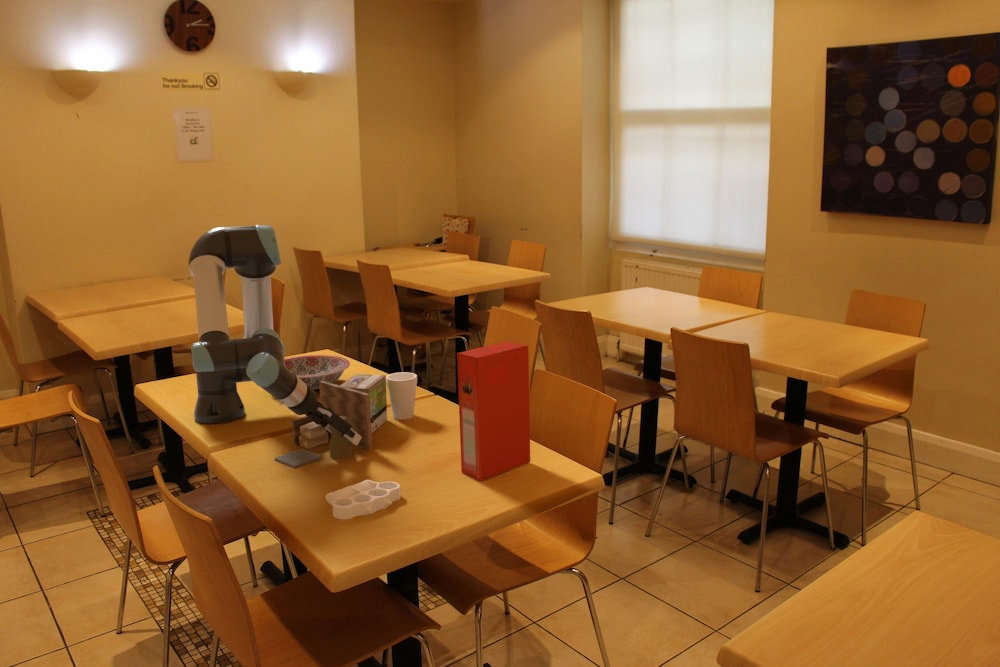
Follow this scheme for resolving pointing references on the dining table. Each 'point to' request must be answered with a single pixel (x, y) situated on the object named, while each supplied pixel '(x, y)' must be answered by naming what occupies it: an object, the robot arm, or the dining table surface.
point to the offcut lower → (313, 441)
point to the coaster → (298, 458)
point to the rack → (343, 411)
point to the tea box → (372, 395)
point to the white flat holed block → (363, 498)
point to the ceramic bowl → (317, 368)
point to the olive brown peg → (339, 444)
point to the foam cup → (402, 394)
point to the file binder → (494, 409)
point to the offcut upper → (311, 430)
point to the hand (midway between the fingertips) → (350, 438)
